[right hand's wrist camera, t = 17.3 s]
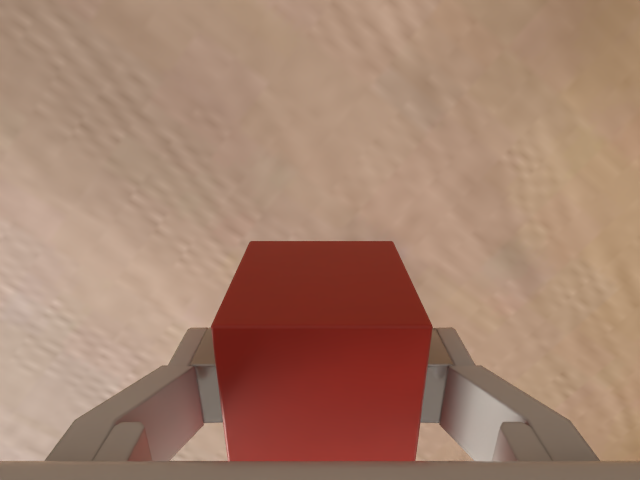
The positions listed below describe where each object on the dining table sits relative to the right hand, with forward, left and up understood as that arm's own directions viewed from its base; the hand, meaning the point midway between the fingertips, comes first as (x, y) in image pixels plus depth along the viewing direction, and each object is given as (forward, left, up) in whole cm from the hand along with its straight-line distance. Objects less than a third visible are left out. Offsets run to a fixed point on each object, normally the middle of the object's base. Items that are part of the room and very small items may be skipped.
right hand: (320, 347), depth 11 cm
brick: (0, 0, -2) cm, 2 cm away
